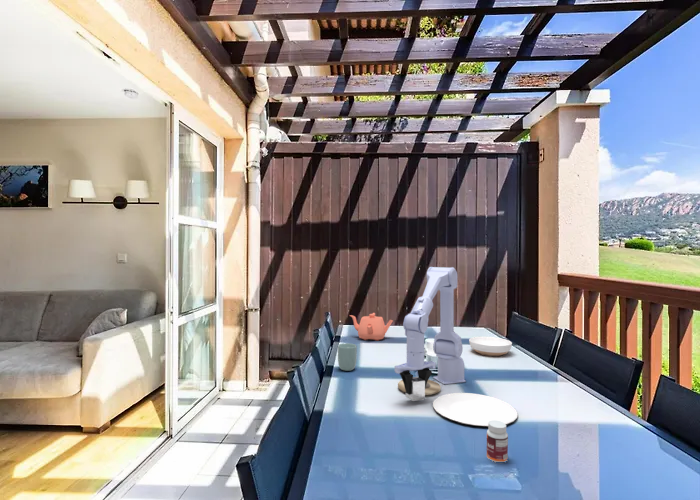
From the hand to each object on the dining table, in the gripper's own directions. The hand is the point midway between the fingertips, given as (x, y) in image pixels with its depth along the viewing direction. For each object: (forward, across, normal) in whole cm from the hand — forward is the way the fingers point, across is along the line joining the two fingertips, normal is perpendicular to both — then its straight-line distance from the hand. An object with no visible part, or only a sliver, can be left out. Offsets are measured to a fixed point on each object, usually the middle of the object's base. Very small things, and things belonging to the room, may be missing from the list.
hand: (415, 392), depth 128 cm
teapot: (+4, -27, -88) cm, 92 cm away
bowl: (+4, -67, -38) cm, 77 cm away
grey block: (+2, 0, 0) cm, 2 cm away
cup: (+3, +7, -41) cm, 41 cm away
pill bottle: (+3, +1, +37) cm, 37 cm away
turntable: (+3, -8, -9) cm, 13 cm away
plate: (+4, -13, +13) cm, 19 cm away
